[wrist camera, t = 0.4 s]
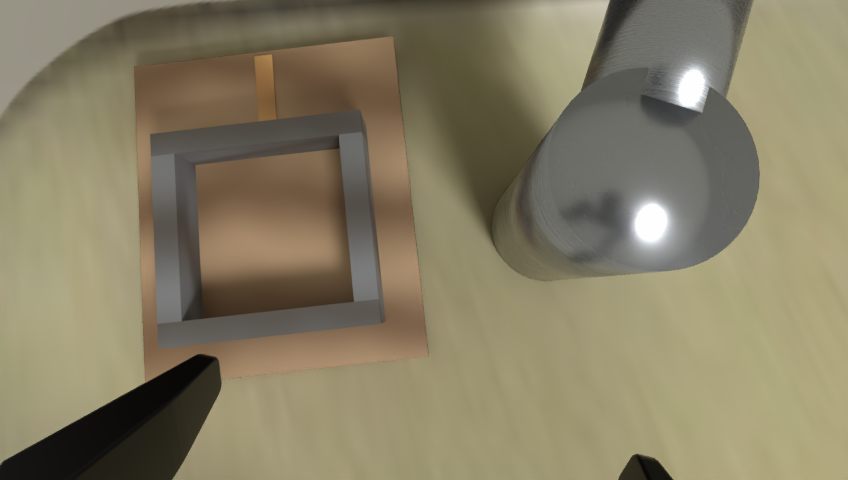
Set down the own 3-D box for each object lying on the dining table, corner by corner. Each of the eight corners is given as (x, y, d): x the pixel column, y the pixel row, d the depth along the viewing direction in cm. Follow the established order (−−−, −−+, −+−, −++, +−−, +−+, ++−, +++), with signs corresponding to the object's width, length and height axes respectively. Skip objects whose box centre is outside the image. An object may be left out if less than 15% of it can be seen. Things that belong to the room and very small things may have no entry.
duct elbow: (581, 295, 24) (734, 301, 12) (477, 260, 24) (522, 229, 12) (631, 130, 25) (820, -23, 13) (531, 98, 25) (622, -80, 13)
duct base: (428, 353, 24) (427, 362, 21) (157, 383, 24) (117, 397, 21) (394, 46, 26) (389, 14, 23) (145, 75, 26) (108, 47, 23)
